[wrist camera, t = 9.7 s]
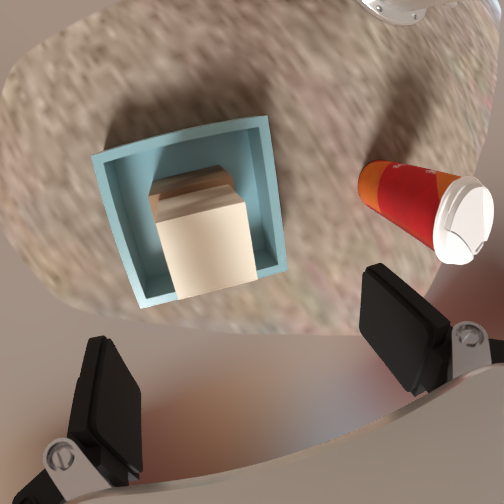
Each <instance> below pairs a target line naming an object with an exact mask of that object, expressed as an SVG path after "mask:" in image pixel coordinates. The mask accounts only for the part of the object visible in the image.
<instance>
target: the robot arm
mask: <svg viewBox="0 0 504 504" xmlns="http://www.w3.org/2000/svg"><path fill="white" fill-rule="evenodd" d="M357 1H358V3H359V4H360V5H361V6H362V7H363V8H365V9H366V10H367V11H368V12H370V13H371V14H372V15H374V16H375V17H377V18H378V19H380V20H382V21H384V22H386V23H389V24H393V25H396V26H407V25H412V24H415V23H417V22H419V21H420V20H421V19H422V18H423V17H424V16H425V13H426V10H427V8H429V7H433V6H438V5H442V4H443V5H445V6H448V7H451V8H455V7H456V6H457V2H458V1H464V0H357ZM359 329H360V332H361V334H362V335H363V337H364V338H365V339H366V340H367V342H368V343H369V344H370V345H371V347H372V348H373V349H374V351H375V352H376V353H377V354H378V356H379V357H380V358H381V359H382V361H383V362H384V363H385V364H386V366H387V367H388V368H389V370H390V371H391V372H392V373H393V375H394V376H395V377H396V379H397V380H398V381H399V382H400V384H401V385H402V386H403V388H404V389H405V390H406V391H407V392H409V391H410V392H411V393H412V394H413V395H414V396H415V397H416V396H417V395H419V394H421V393H423V392H424V391H427V392H428V394H426V395H425V396H423V397H421V398H419V399H417V400H415V401H413V402H412V403H410V404H408V405H406V406H404V407H403V408H400V409H398V410H397V411H395V412H393V413H391V414H389V415H387V416H384V417H382V418H380V419H378V420H376V421H374V422H372V423H370V424H368V425H366V426H363V427H361V428H358V429H356V430H354V431H352V432H349V433H347V434H345V435H342V436H339V437H337V438H334V439H332V440H329V441H327V442H324V443H321V444H319V445H316V446H313V447H310V448H308V449H305V450H302V451H299V452H296V453H293V454H290V455H286V456H283V457H280V458H277V459H273V460H270V461H266V462H263V463H259V464H255V465H251V466H248V467H244V468H239V469H235V470H231V471H226V472H221V473H217V474H211V475H206V476H201V477H195V478H189V479H182V480H175V481H169V482H161V483H153V484H143V485H133V486H129V482H128V481H139V473H140V472H142V470H143V463H142V440H141V439H142V438H141V392H140V389H139V387H138V385H137V383H136V381H135V380H134V378H133V377H132V375H131V373H130V372H129V370H128V368H127V367H126V365H125V363H124V361H123V360H122V358H121V356H120V354H119V353H118V351H117V349H116V347H115V345H114V344H113V341H112V340H111V339H107V338H106V337H105V336H98V337H93V338H90V339H89V340H88V343H87V347H86V351H85V356H84V359H83V364H82V368H81V373H80V377H79V378H78V380H77V384H76V389H75V393H74V398H73V404H72V409H71V414H70V420H69V426H68V433H67V438H58V439H55V440H54V441H52V442H51V443H50V444H49V445H48V446H47V447H46V449H45V451H44V454H43V464H44V466H45V469H44V470H43V471H42V472H41V473H39V475H37V476H36V477H35V478H34V479H33V480H32V481H31V482H30V483H28V485H26V486H25V487H24V488H23V489H22V490H21V491H20V492H18V493H17V495H16V496H15V497H14V499H13V502H12V504H504V341H503V340H495V339H488V336H487V333H486V331H485V330H484V328H482V327H481V326H480V325H478V324H476V323H474V322H468V321H466V322H460V323H458V324H456V325H455V326H454V328H453V327H452V326H450V321H449V320H448V319H447V318H446V317H444V316H443V315H442V314H441V313H440V312H439V311H438V310H437V309H435V308H434V307H433V306H432V305H431V304H430V303H429V302H427V301H426V300H425V299H424V298H423V297H422V296H421V295H419V294H418V293H417V292H416V291H415V290H414V289H412V288H411V287H410V286H409V285H408V284H407V283H405V282H404V281H403V280H402V279H401V278H399V277H398V276H397V275H396V274H395V273H393V272H392V271H391V270H390V269H388V268H387V267H386V266H385V265H384V264H382V263H378V264H375V265H371V266H368V267H367V268H366V270H365V272H363V275H362V292H361V308H360V320H359Z"/></svg>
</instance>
